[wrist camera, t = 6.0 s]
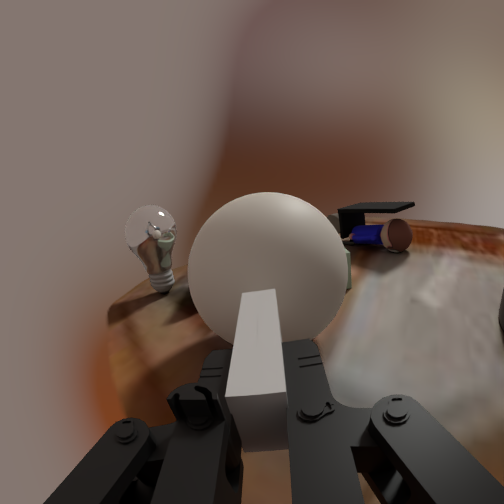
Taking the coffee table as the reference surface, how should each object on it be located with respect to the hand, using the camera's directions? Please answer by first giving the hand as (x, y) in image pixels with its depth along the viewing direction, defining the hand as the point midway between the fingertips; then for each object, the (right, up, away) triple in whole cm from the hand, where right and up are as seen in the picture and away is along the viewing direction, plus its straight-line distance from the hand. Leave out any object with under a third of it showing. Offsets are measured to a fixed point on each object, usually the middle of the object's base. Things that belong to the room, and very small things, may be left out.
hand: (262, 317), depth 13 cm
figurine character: (+19, +4, +29) cm, 35 cm away
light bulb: (-12, -3, +24) cm, 27 cm away
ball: (+1, +2, +8) cm, 8 cm away
